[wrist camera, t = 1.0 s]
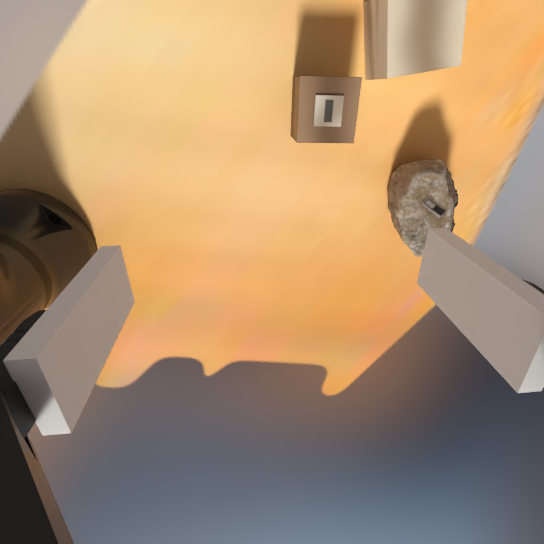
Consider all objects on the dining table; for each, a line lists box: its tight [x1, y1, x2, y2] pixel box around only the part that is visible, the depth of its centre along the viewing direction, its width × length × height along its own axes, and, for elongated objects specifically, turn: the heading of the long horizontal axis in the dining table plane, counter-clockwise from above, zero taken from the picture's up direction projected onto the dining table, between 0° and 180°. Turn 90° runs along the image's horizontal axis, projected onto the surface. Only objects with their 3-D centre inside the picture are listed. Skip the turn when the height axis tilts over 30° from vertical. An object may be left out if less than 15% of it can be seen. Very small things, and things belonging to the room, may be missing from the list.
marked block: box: [291, 76, 362, 143], centre depth 37 cm, size 6×6×6 cm
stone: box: [388, 159, 458, 257], centre depth 42 cm, size 7×12×7 cm, turn 24°
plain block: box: [363, 0, 467, 80], centre depth 33 cm, size 7×7×7 cm
